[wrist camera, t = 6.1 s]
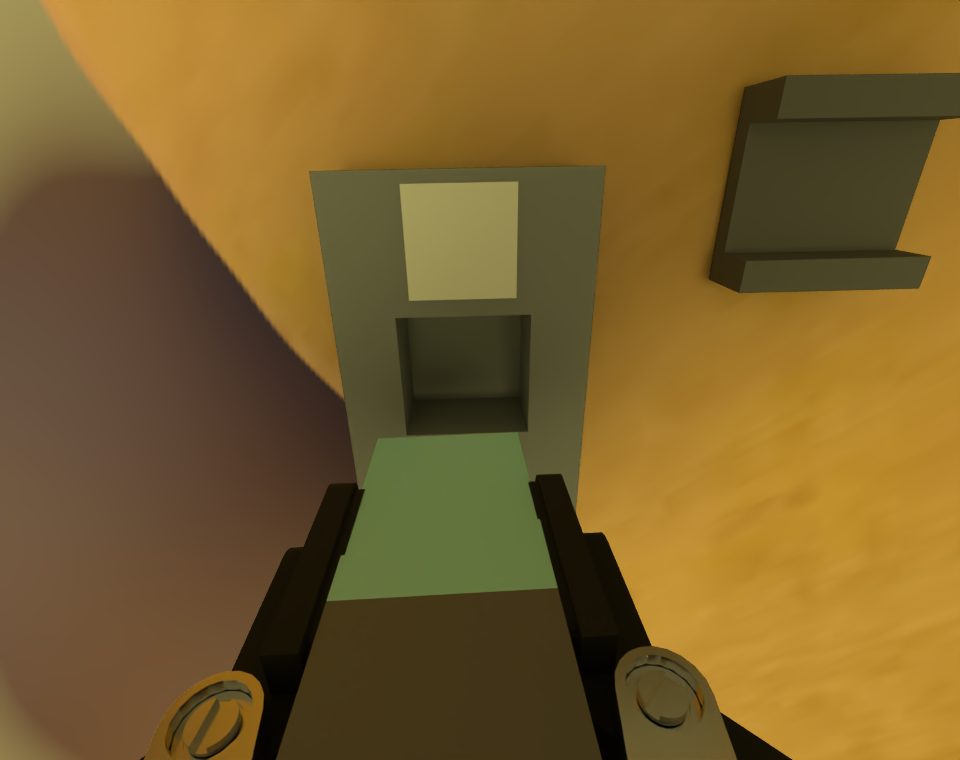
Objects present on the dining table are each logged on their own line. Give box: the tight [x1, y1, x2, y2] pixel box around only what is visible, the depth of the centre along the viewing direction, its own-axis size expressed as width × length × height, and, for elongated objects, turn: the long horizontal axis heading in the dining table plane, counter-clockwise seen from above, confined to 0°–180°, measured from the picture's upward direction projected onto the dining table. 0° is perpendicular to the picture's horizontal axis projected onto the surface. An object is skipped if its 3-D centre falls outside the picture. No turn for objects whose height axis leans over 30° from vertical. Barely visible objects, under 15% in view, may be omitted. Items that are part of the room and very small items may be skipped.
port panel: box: [309, 166, 606, 512], centre depth 19 cm, size 14×9×4 cm, turn 1°
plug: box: [276, 432, 602, 760], centre depth 9 cm, size 4×4×8 cm
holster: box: [709, 73, 960, 293], centre depth 17 cm, size 7×7×2 cm
